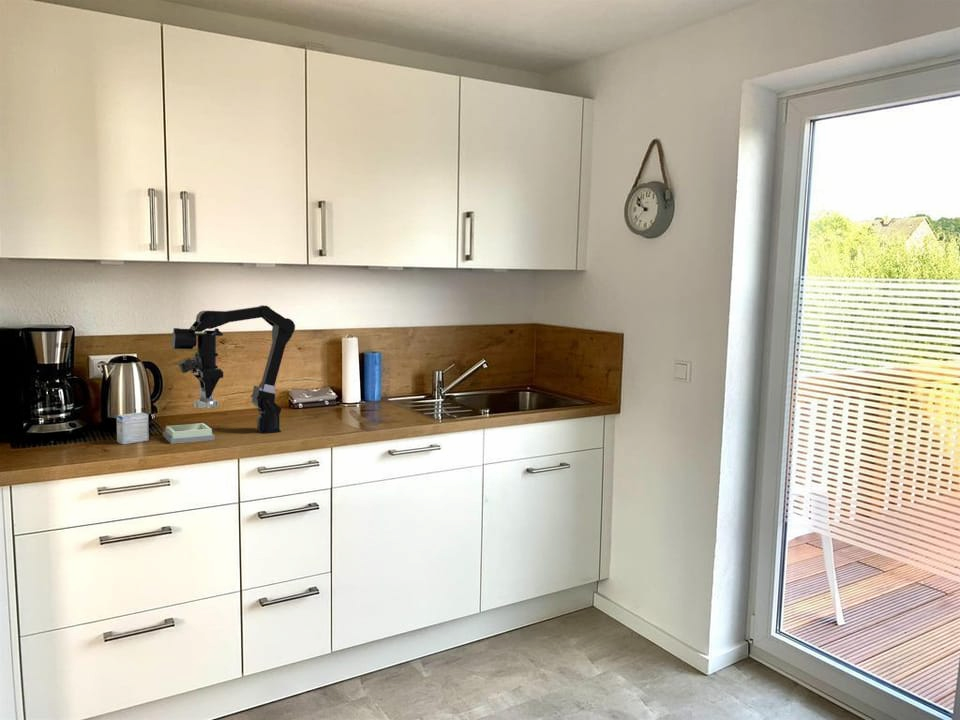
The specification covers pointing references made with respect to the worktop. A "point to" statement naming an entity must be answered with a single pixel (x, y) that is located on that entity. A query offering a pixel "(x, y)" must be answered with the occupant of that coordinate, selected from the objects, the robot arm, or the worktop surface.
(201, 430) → the square tray
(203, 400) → the gear
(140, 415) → the medicine box
